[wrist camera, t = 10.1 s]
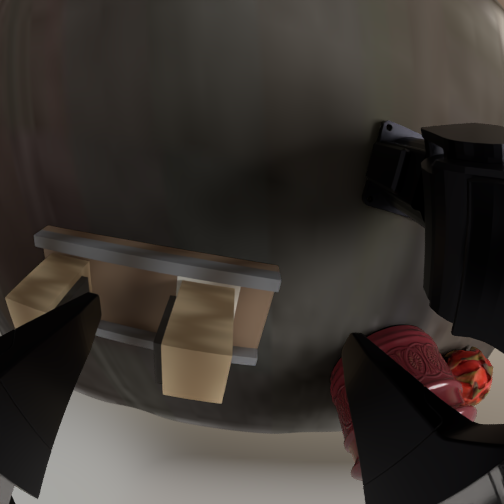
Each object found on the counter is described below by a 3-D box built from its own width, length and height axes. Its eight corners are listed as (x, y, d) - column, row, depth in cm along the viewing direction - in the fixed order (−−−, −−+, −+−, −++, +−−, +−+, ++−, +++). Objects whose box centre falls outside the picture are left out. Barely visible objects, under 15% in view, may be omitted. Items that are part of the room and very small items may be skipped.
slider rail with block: (278, 265, 22) (293, 336, 15) (254, 348, 26) (258, 420, 18) (47, 225, 20) (-10, 269, 12) (60, 308, 23) (22, 361, 16)
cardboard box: (234, 288, 21) (232, 356, 15) (225, 336, 23) (221, 403, 17) (174, 278, 21) (150, 342, 15) (172, 327, 23) (154, 392, 17)
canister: (446, 336, 27) (515, 447, 11) (380, 403, 32) (417, 510, 16) (378, 306, 24) (465, 474, 8) (304, 390, 29) (330, 534, 13)
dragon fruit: (465, 360, 32) (419, 345, 32) (507, 346, 25) (466, 327, 24) (459, 412, 28) (410, 406, 27) (503, 405, 21) (461, 400, 20)
